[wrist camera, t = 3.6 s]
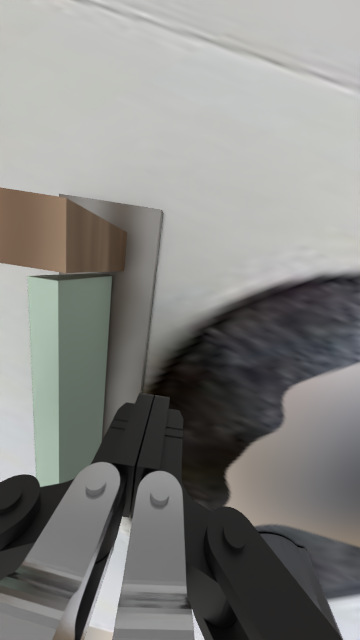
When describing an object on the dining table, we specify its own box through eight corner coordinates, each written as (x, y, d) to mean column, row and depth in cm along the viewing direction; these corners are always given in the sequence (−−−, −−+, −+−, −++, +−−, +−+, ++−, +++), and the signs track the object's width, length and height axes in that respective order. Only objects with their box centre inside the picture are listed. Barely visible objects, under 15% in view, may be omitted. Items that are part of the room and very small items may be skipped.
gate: (100, 461, 21) (59, 549, 14) (85, 458, 21) (38, 545, 14) (112, 276, 16) (59, 281, 10) (93, 273, 16) (26, 276, 10)
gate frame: (163, 213, 16) (131, 149, 8) (131, 480, 24) (97, 604, 15) (66, 198, 16) (-75, 118, 8) (65, 469, 24) (-8, 586, 15)
